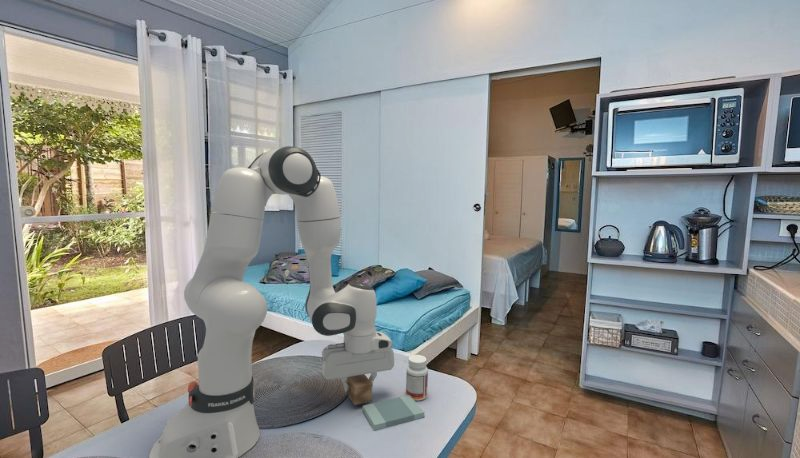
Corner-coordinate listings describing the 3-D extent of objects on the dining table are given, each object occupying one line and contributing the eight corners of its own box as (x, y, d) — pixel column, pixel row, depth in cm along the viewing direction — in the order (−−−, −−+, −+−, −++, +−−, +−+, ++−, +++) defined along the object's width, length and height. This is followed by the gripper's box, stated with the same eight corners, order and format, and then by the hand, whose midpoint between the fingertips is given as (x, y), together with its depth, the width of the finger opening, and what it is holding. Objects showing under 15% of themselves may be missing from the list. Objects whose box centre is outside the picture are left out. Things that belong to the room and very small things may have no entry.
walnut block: (354, 405, 100) (355, 387, 99) (345, 390, 107) (345, 374, 107) (371, 401, 102) (372, 383, 102) (361, 387, 109) (361, 371, 109)
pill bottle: (417, 387, 112) (418, 351, 111) (431, 396, 107) (432, 359, 106) (401, 394, 108) (402, 357, 107) (415, 404, 104) (416, 365, 102)
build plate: (374, 430, 92) (374, 425, 92) (362, 410, 100) (362, 405, 100) (424, 417, 98) (424, 412, 97) (409, 399, 106) (409, 394, 106)
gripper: (324, 350, 96) (323, 401, 97) (397, 340, 104) (395, 387, 106) (319, 341, 102) (318, 389, 103) (388, 332, 110) (387, 377, 111)
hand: (358, 388), depth 104 cm, fingers closed on walnut block, 5 cm apart
